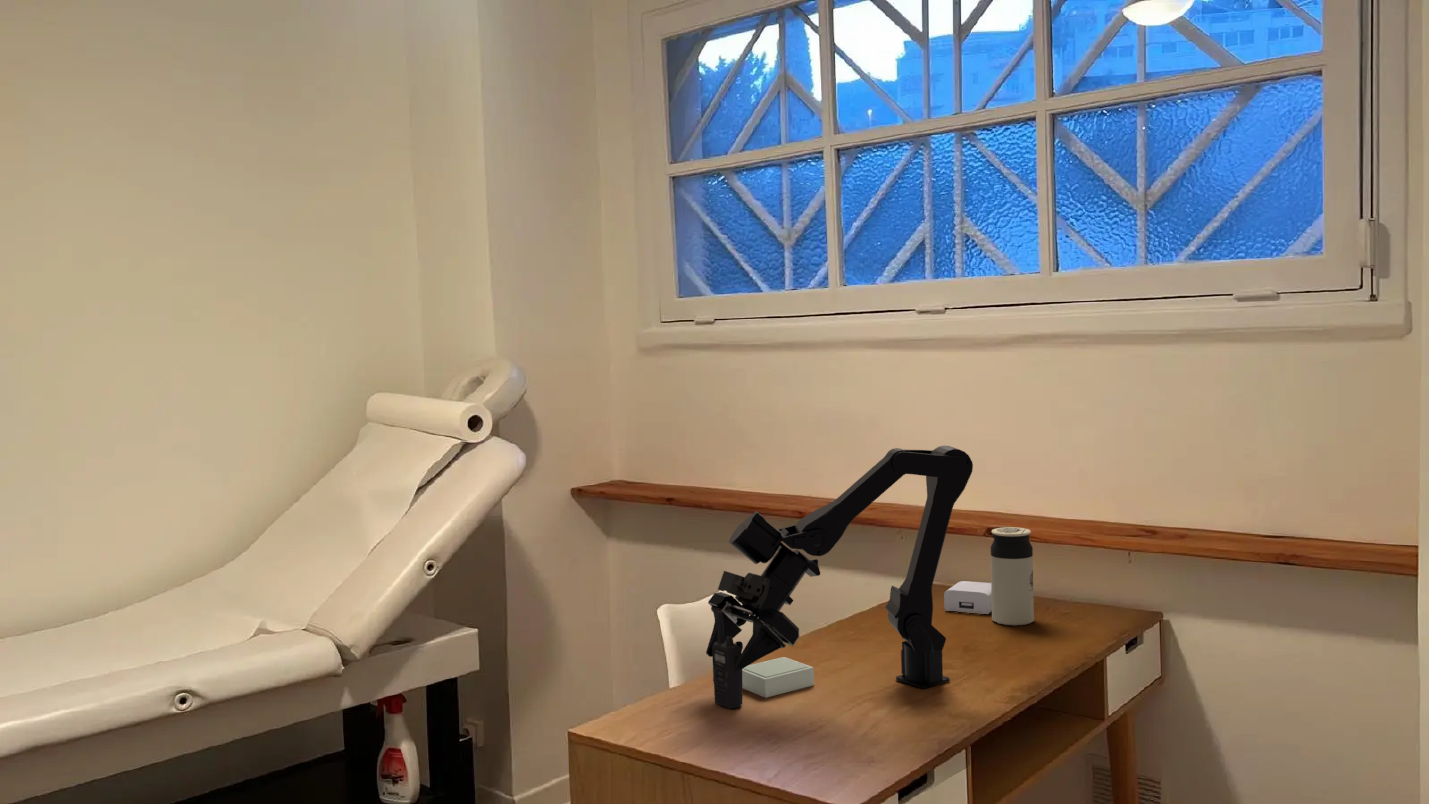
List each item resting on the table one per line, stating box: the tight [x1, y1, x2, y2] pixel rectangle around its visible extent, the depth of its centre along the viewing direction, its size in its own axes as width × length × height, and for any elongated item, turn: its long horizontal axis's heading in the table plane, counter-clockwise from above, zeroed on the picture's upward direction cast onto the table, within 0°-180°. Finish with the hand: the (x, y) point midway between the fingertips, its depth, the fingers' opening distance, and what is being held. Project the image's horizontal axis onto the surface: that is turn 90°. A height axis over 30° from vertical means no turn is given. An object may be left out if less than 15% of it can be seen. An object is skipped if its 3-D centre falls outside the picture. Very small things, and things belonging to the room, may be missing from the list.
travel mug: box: [990, 526, 1035, 627], centre depth 227 cm, size 8×8×18 cm
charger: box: [943, 580, 992, 615], centre depth 242 cm, size 5×9×15 cm
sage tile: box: [742, 656, 815, 698], centre depth 193 cm, size 8×10×3 cm
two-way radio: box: [712, 611, 744, 710], centre depth 184 cm, size 6×4×15 cm
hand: (722, 661), depth 183 cm, fingers open, 8 cm apart
